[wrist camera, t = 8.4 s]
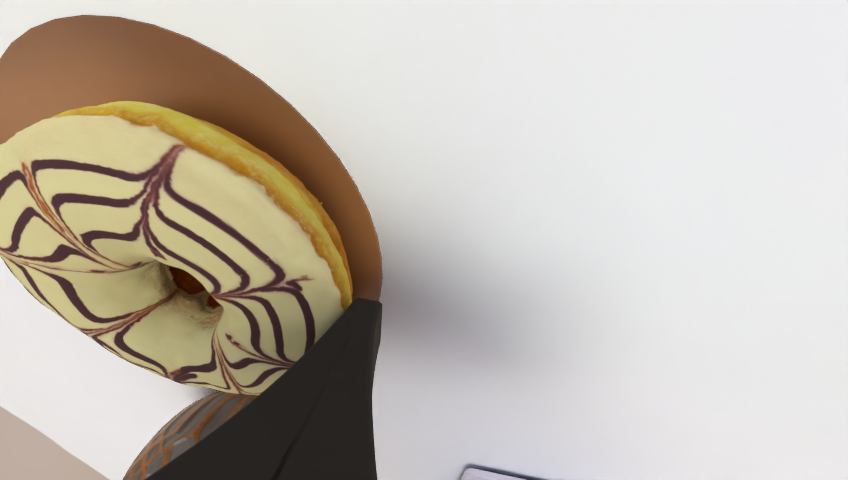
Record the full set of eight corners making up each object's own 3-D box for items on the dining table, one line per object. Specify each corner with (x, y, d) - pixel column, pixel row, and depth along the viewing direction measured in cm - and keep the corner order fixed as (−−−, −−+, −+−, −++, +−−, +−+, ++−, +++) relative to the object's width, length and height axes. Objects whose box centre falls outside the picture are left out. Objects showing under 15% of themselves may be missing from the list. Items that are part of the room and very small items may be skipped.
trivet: (377, 384, 16) (376, 387, 16) (114, 331, 17) (111, 334, 17) (394, 55, 8) (392, 55, 8) (-123, -17, 9) (-135, -19, 8)
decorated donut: (224, 348, 16) (162, 422, 13) (33, 153, 11) (-149, 197, 8) (406, 325, 13) (384, 416, 10) (263, 40, 8) (119, 36, 5)
